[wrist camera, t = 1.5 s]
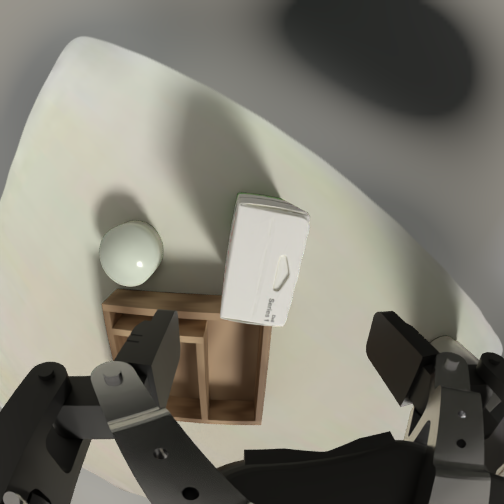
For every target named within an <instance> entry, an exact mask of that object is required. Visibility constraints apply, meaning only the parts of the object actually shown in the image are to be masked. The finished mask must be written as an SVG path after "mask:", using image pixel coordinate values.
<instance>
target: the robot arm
mask: <svg viewBox="0 0 504 504" xmlns="http://www.w3.org/2000/svg"><path fill="white" fill-rule="evenodd" d="M366 353H367V356H368V358H369V360H370V361H371V363H372V364H373V366H374V367H375V369H376V370H377V372H378V373H379V375H380V376H381V378H382V379H383V381H384V382H385V384H386V385H387V387H388V388H389V390H390V391H391V393H392V394H393V396H394V397H395V399H396V401H397V402H398V404H399V405H400V407H402V406H406V405H410V404H413V405H414V406H413V408H412V410H411V412H410V416H409V420H408V424H407V429H406V432H405V436H404V440H394V438H393V436H392V434H391V432H390V431H389V432H385V433H381V434H377V435H373V436H368V437H364V438H359V439H357V440H355V441H352V442H350V443H348V444H345V445H343V446H340V447H338V448H335V449H333V450H330V451H327V452H315V451H302V450H293V449H264V450H244V460H241V461H237V462H233V463H230V464H226V465H224V466H221V467H219V468H215V466H214V465H213V464H212V463H211V462H210V461H209V460H208V459H207V458H206V456H205V455H204V454H203V453H202V452H201V451H200V450H199V448H198V447H197V446H196V445H195V444H194V443H193V441H192V440H191V439H190V438H189V436H188V435H187V434H186V433H185V431H184V430H183V429H182V428H181V426H180V425H179V424H178V423H177V421H176V420H175V419H174V417H173V416H172V415H171V413H170V412H169V411H168V410H167V409H166V405H167V401H168V398H169V394H170V391H171V387H172V383H173V380H174V376H175V373H176V369H177V366H178V363H179V359H180V335H179V322H178V313H177V311H176V310H163V309H158V310H157V311H156V313H155V314H154V316H153V318H152V320H151V321H147V320H144V321H142V322H141V323H139V324H138V325H136V326H135V327H134V329H133V330H132V332H131V334H130V335H129V337H128V338H127V341H126V342H125V343H124V345H123V346H122V348H121V350H120V351H119V353H118V354H117V356H116V358H115V359H114V361H110V362H105V363H103V364H100V365H99V366H97V367H96V368H95V369H94V370H93V371H92V373H91V376H68V374H67V371H66V369H65V367H64V366H63V365H61V364H59V363H56V362H45V363H41V364H39V365H37V366H35V367H34V368H33V369H32V370H31V371H30V372H29V373H28V375H27V376H26V377H25V379H24V380H23V381H22V382H21V384H20V385H19V386H18V388H17V389H16V390H15V392H14V393H13V395H12V396H11V397H10V399H9V400H8V402H7V403H6V404H5V406H4V407H3V409H2V410H1V412H0V504H70V502H71V499H72V496H73V492H74V489H75V486H76V482H77V479H78V476H79V473H80V470H81V467H82V464H83V462H84V459H85V456H86V453H87V450H88V447H89V445H90V442H91V439H115V441H116V443H117V445H118V447H119V449H120V451H121V453H122V455H123V457H124V459H125V460H126V462H127V464H128V466H129V468H130V470H131V471H132V473H133V475H134V477H135V478H136V480H137V482H138V483H139V485H140V487H141V488H142V490H143V492H144V493H145V495H146V496H147V498H148V499H149V501H150V502H151V504H504V358H503V357H501V356H500V355H498V354H495V353H491V352H486V353H483V354H482V355H481V358H480V360H478V359H477V358H476V357H475V356H474V355H473V354H472V353H471V352H469V351H468V350H467V349H466V348H465V347H464V346H463V345H461V344H460V343H459V342H458V341H454V340H453V339H452V338H451V337H449V336H441V337H439V338H437V339H435V340H433V341H432V342H431V343H429V342H428V341H427V340H426V339H424V337H423V336H422V335H421V334H419V332H418V331H417V330H416V329H415V328H414V327H413V326H411V325H409V324H407V323H405V322H404V321H403V320H402V319H401V318H400V317H399V316H398V315H397V314H396V313H395V312H393V311H386V312H377V313H375V315H374V317H373V321H372V325H371V329H370V333H369V337H368V341H367V345H366Z"/></svg>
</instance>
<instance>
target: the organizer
mask: <svg viewBox="0 0 504 504" xmlns="http://www.w3.org/2000/svg"><path fill="white" fill-rule="evenodd" d="M221 300H222V295H204V294H185V293H168V292H154V291H140V290H128V289H116V290H115V291H114V292H113V293H112V294H111V295H110V296H109V297H108V298H107V299H106V300H105V301H104V302H103V303H102V309H103V314H104V320H105V325H106V330H107V335H108V340H109V344H110V349H111V353H112V357H113V361H114V359H115V358H116V356H117V354H118V353H119V351H120V350H121V348H122V346H123V345H124V343H125V342H126V341H127V338H128V337H129V335H130V334H131V332H132V330H133V329H134V327H135V326H136V325H138V324H139V323H141V322H142V321H144V320H147V321H151V320H152V318H153V316H154V314H155V313H156V311H157V310H158V309H163V310H176V311H177V313H178V322H179V335H180V359H179V363H178V366H177V369H176V373H175V376H174V380H173V383H172V387H171V391H170V394H169V398H168V401H167V405H166V409H167V410H168V411H169V412H170V413H171V415H172V416H173V417H174V419H175V420H176V421H184V422H194V423H207V424H226V425H261V421H262V413H263V405H264V396H265V387H266V378H267V369H268V359H269V350H270V340H271V330H272V326H263V325H255V324H246V323H240V322H235V321H230V320H225V319H222V318H220V310H221Z"/></svg>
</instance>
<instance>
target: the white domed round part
mask: <svg viewBox="0 0 504 504" xmlns="http://www.w3.org/2000/svg"><path fill="white" fill-rule="evenodd" d="M99 257H100V262H101V265H102V267H103V269H104V271H105V272H106V274H107V275H108V276H109V277H110V278H111V279H112V280H113V281H114V282H116V283H118V284H120V285H123V286H130V287H132V286H137V285H140V284H142V283H144V282H145V281H146V280H147V279H148V278H149V277H150V276H151V275H152V274H153V272H154V271H155V270H156V269H157V268H158V267H159V265H160V263H161V261H162V258H163V243H162V240H161V237H160V235H159V234H158V232H157V231H156V230H155V229H154V228H153V227H152V226H151V225H149V224H147V223H145V222H143V221H137V220H135V221H129V222H126V223H124V224H121V225H119V226H117V227H114V228H112V229H111V230H109V231H108V232H107V233H106V234H105V236H104V237H103V239H102V241H101V244H100V248H99Z"/></svg>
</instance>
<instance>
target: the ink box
mask: <svg viewBox="0 0 504 504" xmlns="http://www.w3.org/2000/svg"><path fill="white" fill-rule="evenodd" d="M309 220H310V216H309V213H308V212H305V211H304V210H302V209H300V208H298V207H296V206H294V205H292V204H290V203H288V202H287V201H285V200H283V199H281V198H276V197H271V196H265V195H259V194H252V193H238V195H237V199H236V204H235V209H234V214H233V219H232V225H231V231H230V237H229V243H228V249H227V256H226V264H225V272H224V281H223V291H222V300H221V310H220V318H222V319H225V320H230V321H235V322H240V323H246V324H255V325H263V326H275V327H282V326H284V324H285V322H286V320H287V317H288V312H289V309H290V306H291V302H292V299H293V292H294V289H295V285H296V283H297V279H298V275H299V270H300V265H301V261H302V257H303V255H304V251H305V247H306V240H307V236H308V234H309V229H310V225H309Z"/></svg>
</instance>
